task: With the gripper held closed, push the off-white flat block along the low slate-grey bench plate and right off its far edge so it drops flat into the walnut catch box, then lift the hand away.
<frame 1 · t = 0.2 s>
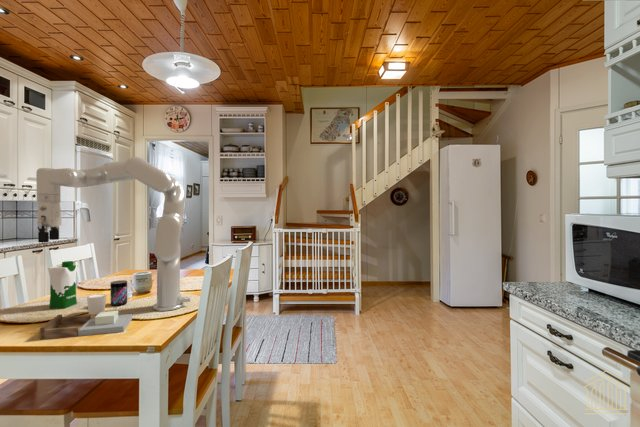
hand: (49, 240, 135), 31 cm above the table, tool pointing down, fingers open, 9 cm apart
white cup: (96, 312, 141), on the table
catch box: (67, 330, 121), on the table
milk carton: (63, 306, 149), on the table
off-white flat block: (107, 321, 125), point 2 cm above the table, touching bench plate
bench plate: (107, 326, 125), on the table
supplement container: (119, 304, 153), on the table
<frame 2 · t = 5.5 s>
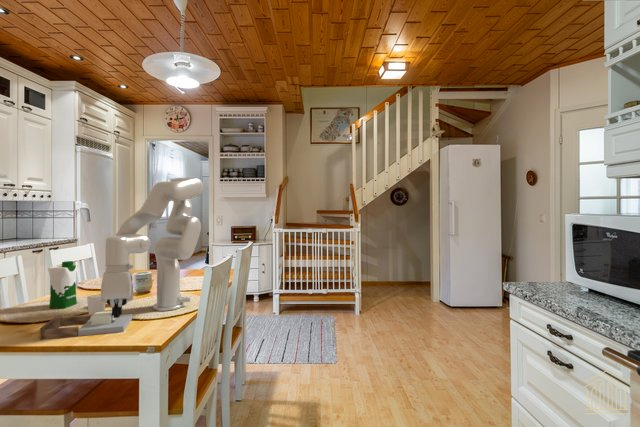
hand: (117, 316, 126), 4 cm above the table, tool pointing down, fingers closed
off-white flat block: (103, 321, 125), point 2 cm above the table, touching gripper
everything else where it was.
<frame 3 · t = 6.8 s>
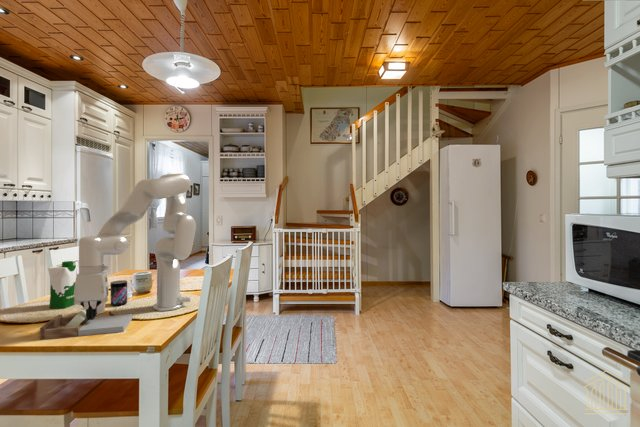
hand: (91, 318, 123), 4 cm above the table, tool pointing down, fingers closed
off-white flat block: (80, 323, 122), point 2 cm above the table, tilted 48°, touching gripper
everything else where it was.
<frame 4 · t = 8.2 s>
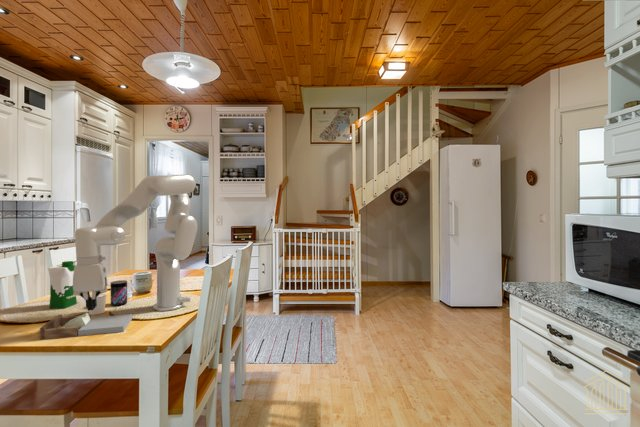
hand: (91, 309, 124), 7 cm above the table, tool pointing down, fingers closed
off-white flat block: (79, 326, 122), point 1 cm above the table, tilted 24°, touching bench plate
everything else where it was.
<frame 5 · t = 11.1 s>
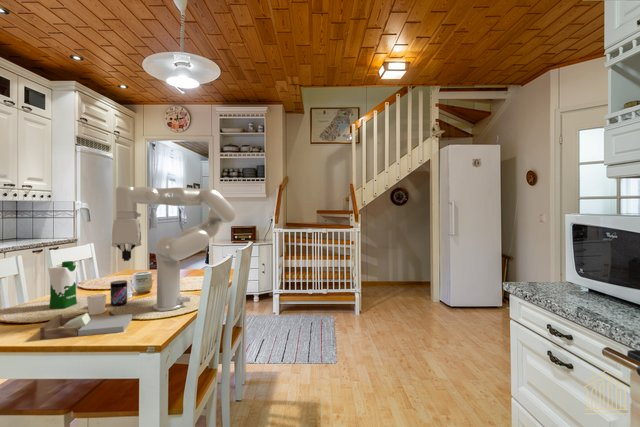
hand: (126, 260, 137), 23 cm above the table, tool pointing down, fingers closed
nothing on the table moved.
at the end: off-white flat block inside the target area (3.2 cm from its centre), point 1.2 cm above the table; the gripper is holding nothing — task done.
